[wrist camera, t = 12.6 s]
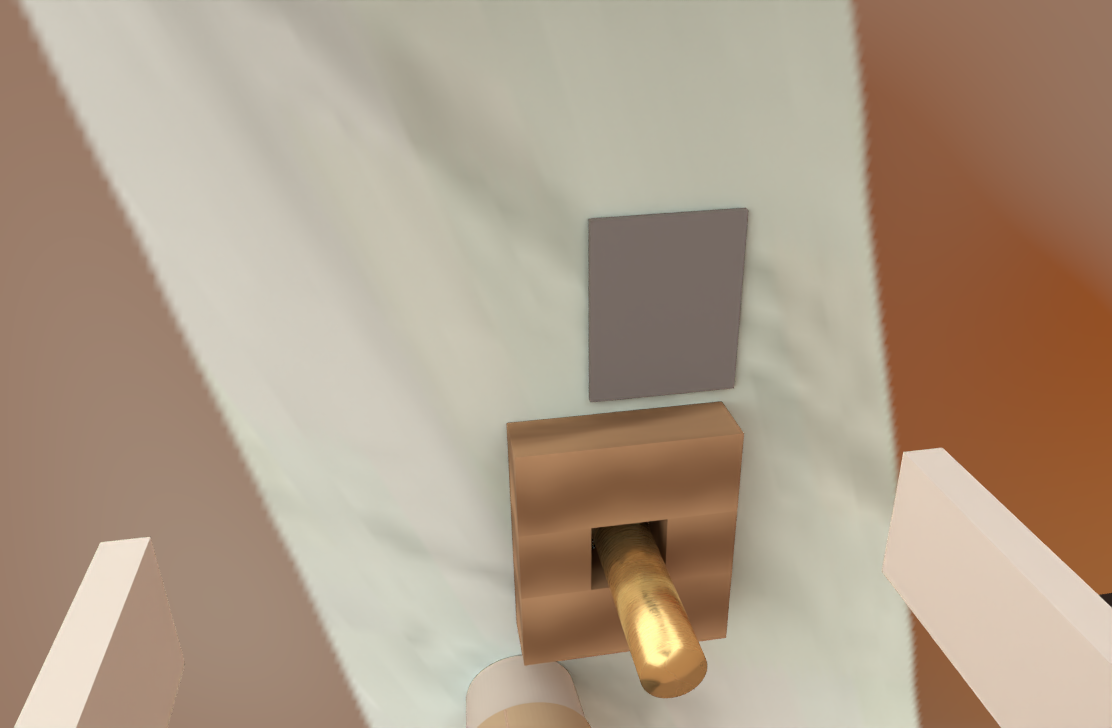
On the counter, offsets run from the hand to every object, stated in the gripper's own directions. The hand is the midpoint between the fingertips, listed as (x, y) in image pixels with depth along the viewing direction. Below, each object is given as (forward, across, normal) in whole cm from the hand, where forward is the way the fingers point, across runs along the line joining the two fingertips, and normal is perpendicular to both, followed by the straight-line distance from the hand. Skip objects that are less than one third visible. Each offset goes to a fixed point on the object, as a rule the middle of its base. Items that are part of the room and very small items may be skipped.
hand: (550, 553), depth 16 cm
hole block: (+29, +8, -21) cm, 36 cm away
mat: (+29, +10, -8) cm, 32 cm away
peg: (+29, +8, -21) cm, 37 cm away
